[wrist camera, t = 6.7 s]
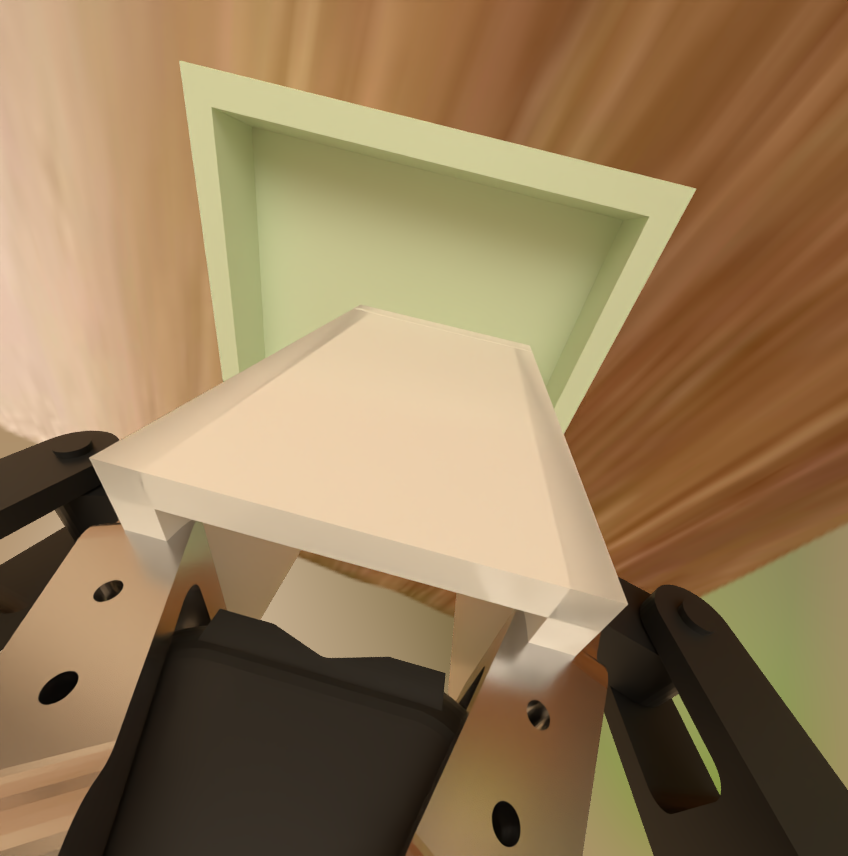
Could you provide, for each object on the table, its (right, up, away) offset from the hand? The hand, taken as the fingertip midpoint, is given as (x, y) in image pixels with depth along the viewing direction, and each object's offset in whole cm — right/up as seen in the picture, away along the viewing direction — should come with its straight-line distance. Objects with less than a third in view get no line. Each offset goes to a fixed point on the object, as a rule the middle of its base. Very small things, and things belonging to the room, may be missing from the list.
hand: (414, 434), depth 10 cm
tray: (-1, +3, +9) cm, 9 cm away
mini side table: (0, +1, +2) cm, 3 cm away
